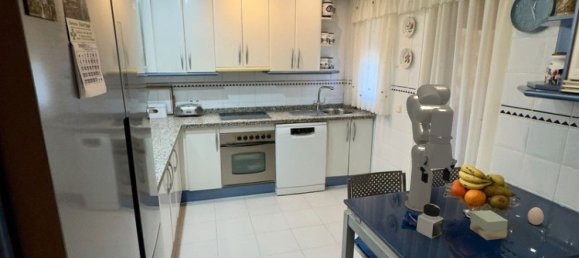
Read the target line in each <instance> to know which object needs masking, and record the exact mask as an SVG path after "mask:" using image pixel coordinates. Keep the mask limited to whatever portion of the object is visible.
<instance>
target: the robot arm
mask: <svg viewBox="0 0 579 258" xmlns="http://www.w3.org/2000/svg"><path fill="white" fill-rule="evenodd" d="M451 94H452V93H451V89H450V87H449V86H448V85H447V84H434V83H433V84H431V83H430V84H428V83H427V84H422V85H420V86H419V87H418V88H417V89H416V93H414V94H410V95H408V97H407V99H406V103H405V106H406V111H407V115H408V117H409V119H410V122H411V130H412V139H413V142H414V145H412V147H411V151H410V155H411V173H410V183H409V191H408V193H406V194H405V196H406V197H407V200H405V202H404V206H405V207H406V208H408V209H409V210H411V211H414V212H418V213H423V209H424V205H425V204H431V195H432V185H433V176H434V173H433V171H432V170H436V169H438V170H439V169H443V170H442V180H444V181H445V182H450V177H451V173H452V172H453V169H455V167H456V164H457V163H458V160H457V159H455V158H453V149H452V148H453V147H452V143H451V141H452V140H453V135H452V130H453V124H454V115H455V112H454V110H453V109H452V107H451V106H449V105H447V103H449V101H450V99H451Z"/></svg>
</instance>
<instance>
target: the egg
mask: <svg viewBox="0 0 579 258" xmlns="http://www.w3.org/2000/svg"><path fill="white" fill-rule="evenodd" d="M544 219H545V215H544V212H543V210H542V209H541V208H539V207H538V206H535V207H532V208H531V209H530V210H529V211H528V212H527V220H528V221H529V222H530V224H532V225H535V226H538V225H541V223H543V222H544Z"/></svg>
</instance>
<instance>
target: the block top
mask: <svg viewBox="0 0 579 258" xmlns="http://www.w3.org/2000/svg"><path fill="white" fill-rule="evenodd" d="M471 221H472V222H473V223H475V224H476V225H478V226H479V227H481V228H482V229H484V230H485V231H497V230H506V229H507V228H508V222H509V220H507V219H506V218H504V217H503V216H501V215H499V214H497V213H495V212H494V211H493V210H490V209H489V210H477V211H476V210H474V211H471V212H470V222H471ZM507 230H508V229H507Z"/></svg>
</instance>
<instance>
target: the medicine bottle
mask: <svg viewBox="0 0 579 258" xmlns="http://www.w3.org/2000/svg"><path fill="white" fill-rule="evenodd" d="M440 213H441V208H440V206H438V205H436V204H434V203H430V204H425V205H424V209H423V212H422V213H421V214H419V215H418V216H417V225H416V232H417V233H420V234H421V235H423V236H426V237H428V238H429V239H434V238H436V237H438V236H440V235H442V234H443V225H444V217H442V216H440Z"/></svg>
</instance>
